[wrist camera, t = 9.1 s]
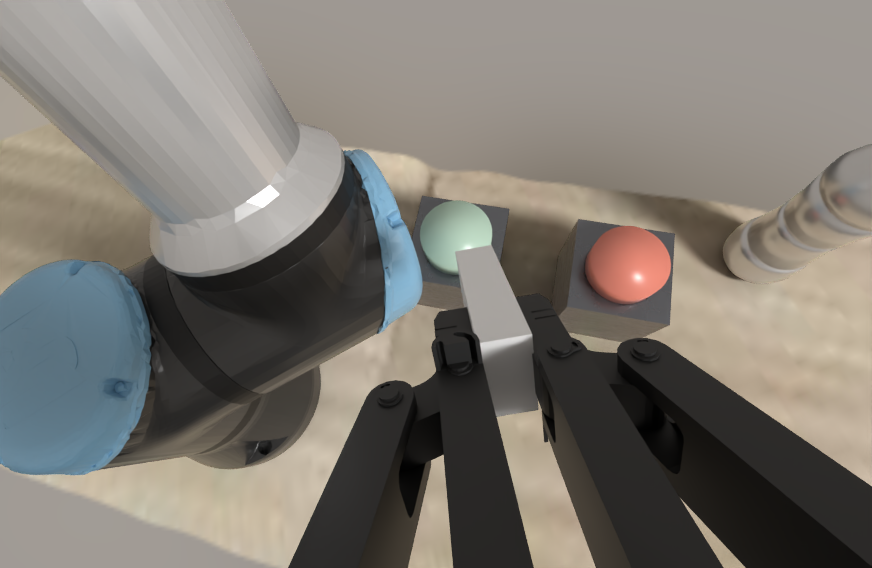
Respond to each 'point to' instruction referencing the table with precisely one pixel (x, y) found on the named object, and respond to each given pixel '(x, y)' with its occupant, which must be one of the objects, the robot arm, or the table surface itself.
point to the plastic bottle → (806, 223)
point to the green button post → (443, 286)
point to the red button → (627, 265)
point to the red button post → (591, 310)
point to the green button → (453, 233)
